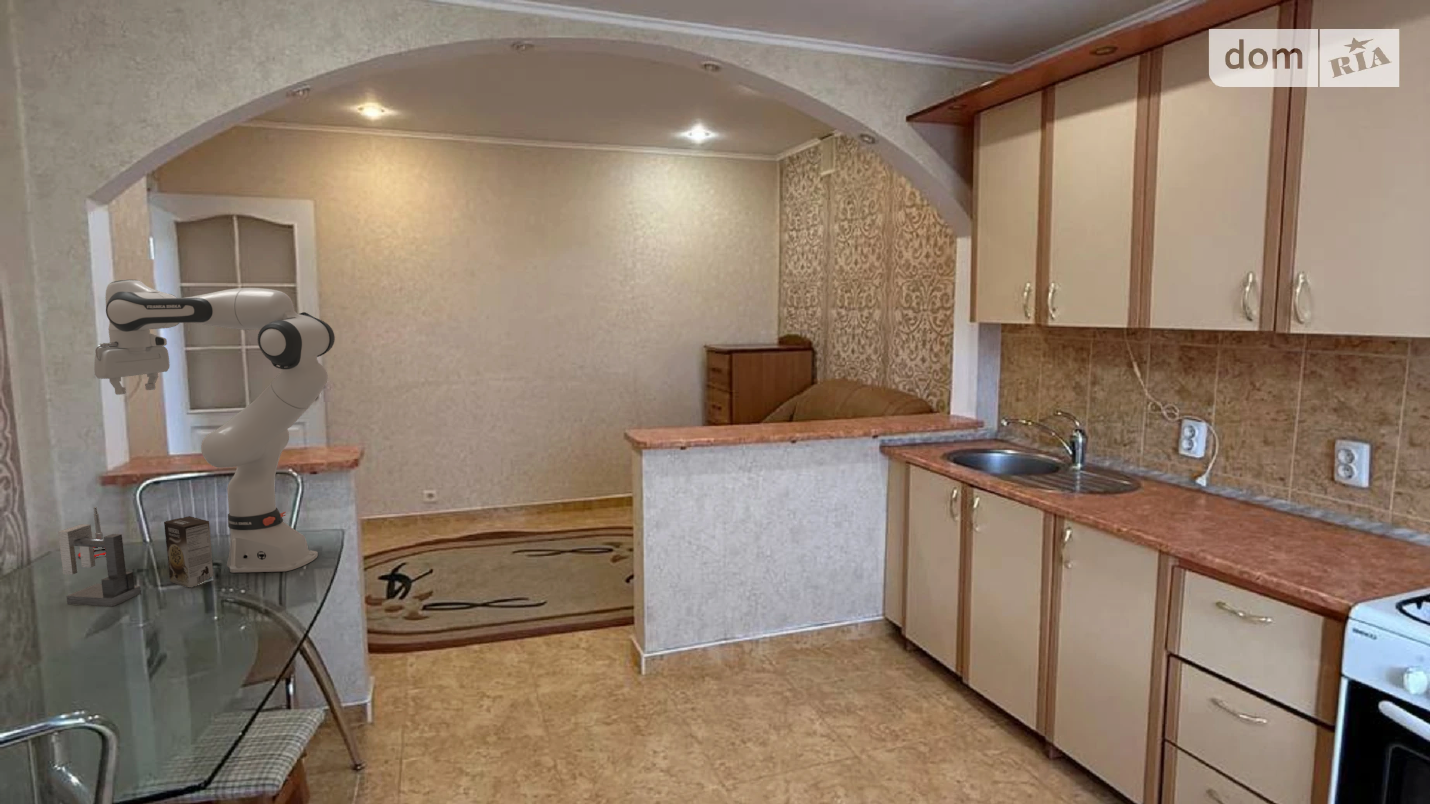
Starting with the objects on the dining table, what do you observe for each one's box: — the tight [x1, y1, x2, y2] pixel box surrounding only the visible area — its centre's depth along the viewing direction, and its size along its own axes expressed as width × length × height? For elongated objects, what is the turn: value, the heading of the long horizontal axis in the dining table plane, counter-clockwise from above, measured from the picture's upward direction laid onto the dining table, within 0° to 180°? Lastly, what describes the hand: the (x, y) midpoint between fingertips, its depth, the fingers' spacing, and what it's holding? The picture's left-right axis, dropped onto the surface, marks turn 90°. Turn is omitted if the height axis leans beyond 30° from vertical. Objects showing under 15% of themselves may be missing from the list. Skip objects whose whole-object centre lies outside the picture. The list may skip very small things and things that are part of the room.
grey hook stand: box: [66, 533, 142, 607], centre depth 187 cm, size 15×8×16 cm, turn 83°
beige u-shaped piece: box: [57, 523, 96, 576], centre depth 186 cm, size 2×6×10 cm, turn 173°
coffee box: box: [163, 515, 214, 588], centre depth 198 cm, size 9×6×16 cm
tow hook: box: [77, 506, 106, 558], centre depth 218 cm, size 8×13×9 cm
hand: (136, 392), depth 209 cm, fingers open, 8 cm apart
